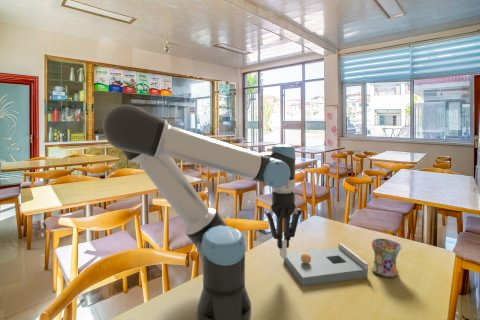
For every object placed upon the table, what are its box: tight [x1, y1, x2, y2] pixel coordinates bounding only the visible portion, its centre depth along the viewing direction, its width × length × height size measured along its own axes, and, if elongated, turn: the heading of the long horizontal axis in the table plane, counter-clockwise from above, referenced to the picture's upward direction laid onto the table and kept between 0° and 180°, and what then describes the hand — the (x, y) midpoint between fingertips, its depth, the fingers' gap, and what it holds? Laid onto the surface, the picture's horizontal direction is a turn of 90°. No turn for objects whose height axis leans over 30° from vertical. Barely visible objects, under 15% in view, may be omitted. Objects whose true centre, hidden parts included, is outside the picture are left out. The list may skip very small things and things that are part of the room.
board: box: [283, 242, 369, 287], centre depth 105 cm, size 24×17×5 cm
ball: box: [301, 253, 311, 264], centre depth 104 cm, size 4×4×4 cm
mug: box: [370, 238, 402, 278], centre depth 104 cm, size 12×9×11 cm
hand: (283, 256), depth 102 cm, fingers closed
